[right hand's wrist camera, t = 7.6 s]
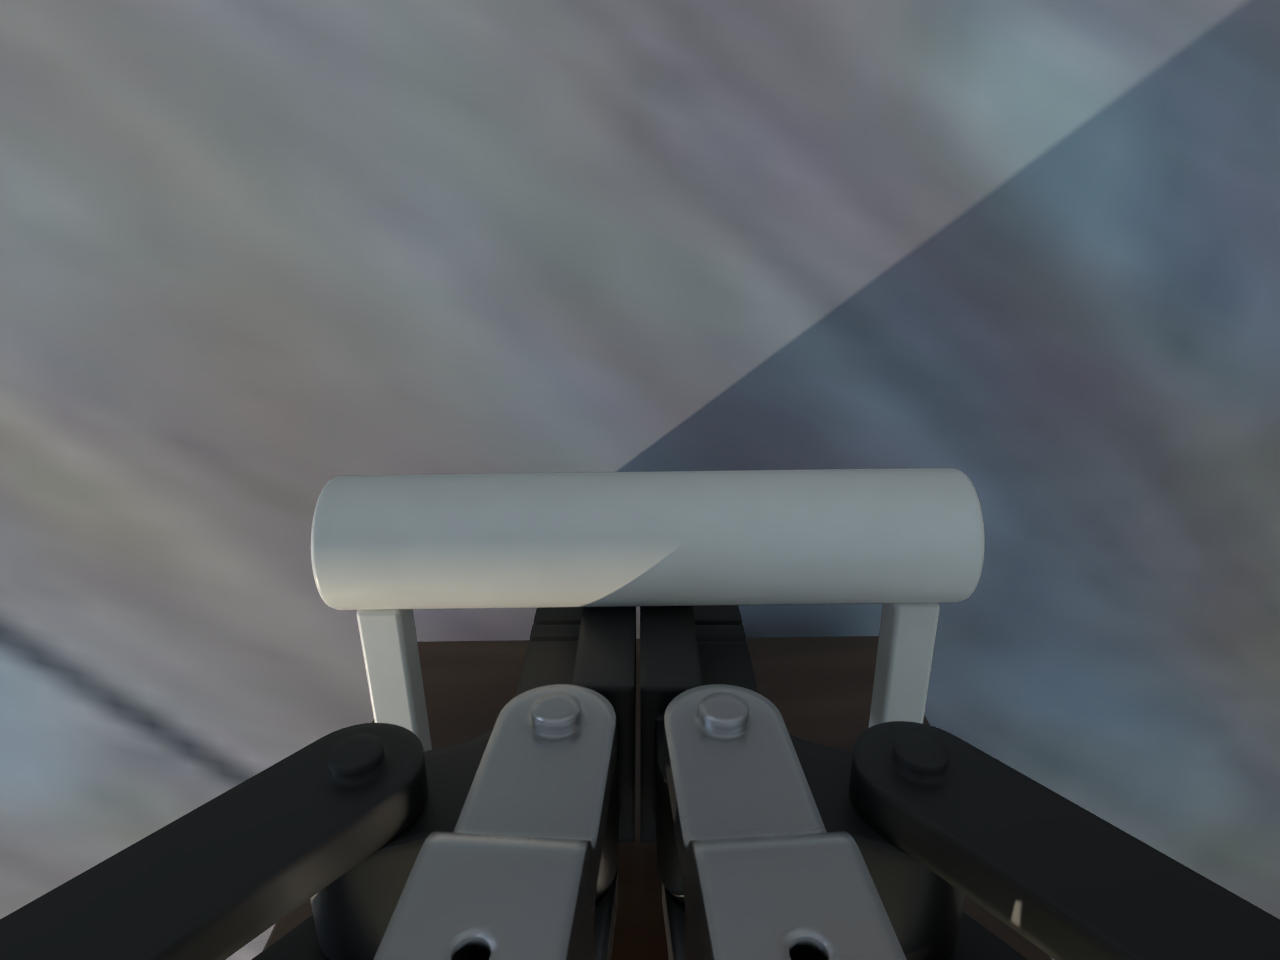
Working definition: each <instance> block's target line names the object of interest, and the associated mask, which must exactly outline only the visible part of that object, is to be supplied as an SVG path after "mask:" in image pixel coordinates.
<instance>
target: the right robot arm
mask: <svg viewBox="0 0 1280 960" xmlns="http://www.w3.org/2000/svg"><path fill="white" fill-rule="evenodd" d="M635 744H636V606H617V607H537V610H536V614H535V619H534V625H533V627H532V631H531V635H530V641H529V643H528V647H527V651H526V655H525V660H524V664H523V668H522V672H521V676H520V680H519V684H518V688H517V692H516V696H515V698H513V699H512V700H511V701H510V702H508V703H507V704H506V705H505V706H504V708H503V709H502V710H501V712H500V714H499V716H498V718H497V720H496V723H495V726H494V728H493V729H491V730H490V731H488V732H487V733H485V734H483V735H481V736H479V737H477V738H474V739H472V740H469V741H466V742H463V743H459V744H456V745H452V746H447V747H443V748H438V749H434V750H429V751H425V752H424V749H423V746H422V743H421V741H420V739H419V738H418V737H417V736H416V735H415V734H414V733H413V732H412V731H410V730H408V729H406V728H404V727H401V726H398V725H395V724H388V723H365V724H359V725H354V726H350V727H346V728H343V729H340V730H338V731H335V732H332V733H330V734H328V735H326V736H324V737H322V738H320V739H319V740H317V741H315V742H313V743H312V744H310V745H308V746H306V747H305V748H303V749H301V750H299V751H297V752H296V753H294V754H292V755H290V756H289V757H287V758H285V759H283V760H282V761H280V762H278V763H276V764H274V765H273V766H271V767H269V768H267V769H266V770H264V771H262V772H260V773H259V774H257V775H255V776H253V777H251V778H250V779H248V780H246V781H244V782H243V783H241V784H239V785H237V786H236V787H234V788H232V789H230V790H229V791H227V792H225V793H223V794H221V795H220V796H218V797H216V798H214V799H213V800H211V801H209V802H207V803H206V804H204V805H202V806H200V807H198V808H197V809H195V810H193V811H191V812H190V813H188V814H186V815H184V816H183V817H181V818H179V819H177V820H175V821H174V822H172V823H170V824H168V825H167V826H165V827H163V828H161V829H160V830H158V831H156V832H154V833H152V834H151V835H149V836H147V837H145V838H144V839H142V840H140V841H138V842H137V843H135V844H133V845H131V846H130V847H128V848H126V849H124V850H122V851H121V852H119V853H117V854H115V855H114V856H112V857H110V858H108V859H107V860H105V861H103V862H101V863H99V864H98V865H96V866H94V867H92V868H91V869H89V870H87V871H85V872H84V873H82V874H80V875H78V876H76V877H75V878H73V879H71V880H69V881H68V882H66V883H64V884H62V885H61V886H59V887H57V888H55V889H53V890H52V891H50V892H48V893H46V894H45V895H43V896H41V897H39V898H38V899H36V900H34V901H32V902H31V903H29V904H27V905H25V906H23V907H22V908H20V909H18V910H16V911H15V912H13V913H11V914H9V915H8V916H6V917H4V918H2V919H0V960H225V959H227V958H228V957H229V956H231V955H232V954H234V953H235V952H236V951H238V950H239V949H240V948H242V947H243V946H245V945H246V944H247V943H249V942H250V941H252V940H253V939H254V938H256V937H257V936H258V935H260V934H261V933H263V932H264V931H265V930H267V929H268V928H270V927H271V926H272V925H274V924H275V923H276V922H278V921H279V920H281V919H282V918H283V917H285V916H286V915H288V914H289V913H290V912H292V911H293V910H294V909H296V908H297V907H299V906H300V905H301V904H303V903H304V902H306V901H307V900H308V899H310V901H311V906H312V911H313V915H311V916H310V917H309V918H307V919H306V920H305V921H303V922H302V923H301V924H299V925H298V926H297V927H295V928H294V929H292V930H291V931H290V932H288V933H287V934H286V935H284V936H283V937H282V938H280V939H279V940H278V941H276V942H275V943H274V944H272V945H271V946H269V947H268V948H267V949H265V950H264V951H263V952H261V953H260V954H259V955H257V956H256V957H255V958H253V959H252V960H611V955H612V947H613V939H614V930H615V922H616V913H617V905H618V842H635ZM640 842H656V848H657V869H658V873H659V876H660V879H661V881H662V904H663V913H664V921H665V930H666V938H667V946H668V955H669V960H1028V959H1027V958H1025V957H1024V956H1023V955H1021V954H1020V953H1019V952H1017V951H1016V950H1015V949H1013V948H1012V947H1010V946H1009V945H1008V944H1006V943H1005V942H1004V941H1002V940H1001V939H1000V938H998V937H997V936H996V935H994V934H993V933H992V932H990V931H989V930H988V929H986V928H985V927H983V926H982V925H981V924H979V923H978V922H977V921H975V920H974V919H973V918H971V917H970V916H969V915H967V914H966V913H965V912H963V911H962V907H963V901H964V896H965V895H966V896H967V897H969V898H970V899H972V900H973V901H974V902H976V903H977V904H979V905H980V906H981V907H983V908H984V909H985V910H987V911H988V912H990V913H991V914H992V915H994V916H995V917H997V918H998V919H999V920H1001V921H1002V922H1004V923H1005V924H1006V925H1008V926H1009V927H1010V928H1012V929H1013V930H1015V931H1016V932H1017V933H1019V934H1020V935H1022V936H1023V937H1024V938H1026V939H1027V940H1028V941H1030V942H1031V943H1033V944H1034V945H1035V946H1037V947H1038V948H1040V949H1041V950H1042V951H1044V952H1045V953H1046V954H1048V955H1049V956H1050V957H1052V958H1053V959H1054V960H1280V919H1278V918H1276V917H1274V916H1272V915H1271V914H1269V913H1267V912H1265V911H1264V910H1262V909H1260V908H1258V907H1257V906H1255V905H1253V904H1251V903H1249V902H1248V901H1246V900H1244V899H1242V898H1241V897H1239V896H1237V895H1235V894H1234V893H1232V892H1230V891H1228V890H1226V889H1225V888H1223V887H1221V886H1219V885H1218V884H1216V883H1214V882H1212V881H1211V880H1209V879H1207V878H1205V877H1203V876H1202V875H1200V874H1198V873H1196V872H1195V871H1193V870H1191V869H1189V868H1188V867H1186V866H1184V865H1182V864H1181V863H1179V862H1177V861H1175V860H1173V859H1172V858H1170V857H1168V856H1166V855H1165V854H1163V853H1161V852H1159V851H1158V850H1156V849H1154V848H1152V847H1150V846H1149V845H1147V844H1145V843H1143V842H1142V841H1140V840H1138V839H1136V838H1135V837H1133V836H1131V835H1129V834H1127V833H1126V832H1124V831H1122V830H1120V829H1119V828H1117V827H1115V826H1113V825H1112V824H1110V823H1108V822H1106V821H1105V820H1103V819H1101V818H1099V817H1097V816H1096V815H1094V814H1092V813H1090V812H1089V811H1087V810H1085V809H1083V808H1082V807H1080V806H1078V805H1076V804H1074V803H1073V802H1071V801H1069V800H1067V799H1066V798H1064V797H1062V796H1060V795H1059V794H1057V793H1055V792H1053V791H1051V790H1050V789H1048V788H1046V787H1044V786H1043V785H1041V784H1039V783H1037V782H1036V781H1034V780H1032V779H1030V778H1028V777H1027V776H1025V775H1023V774H1021V773H1020V772H1018V771H1016V770H1014V769H1013V768H1011V767H1009V766H1007V765H1006V764H1004V763H1002V762H1000V761H998V760H997V759H995V758H993V757H991V756H990V755H988V754H986V753H984V752H983V751H981V750H979V749H977V748H975V747H974V746H972V745H970V744H968V743H967V742H965V741H963V740H961V739H960V738H958V737H956V736H954V735H952V734H950V733H948V732H946V731H944V730H941V729H939V728H936V727H933V726H929V725H926V724H922V723H916V722H907V721H891V722H885V723H880V724H877V725H874V726H872V727H870V728H868V729H866V730H865V731H864V732H862V733H861V734H860V735H859V737H858V738H857V739H856V742H855V744H854V749H853V752H848V751H844V750H839V749H835V748H830V747H826V746H822V745H818V744H814V743H810V742H807V741H805V740H802V739H800V738H797V737H795V736H793V735H791V734H789V733H788V730H787V728H786V725H785V723H784V720H783V718H782V715H781V713H780V712H779V710H778V709H777V707H776V706H775V705H774V704H773V703H772V702H771V701H769V700H768V699H767V698H765V697H764V696H762V695H760V694H759V692H758V688H757V684H756V680H755V675H754V671H753V667H752V662H751V658H750V654H749V650H748V645H747V641H746V637H745V633H744V628H743V625H742V620H741V615H740V611H739V607H738V605H699V606H640Z"/></svg>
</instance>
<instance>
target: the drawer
mask: <svg viewBox="0 0 1280 960" xmlns="http://www.w3.org/2000/svg"><path fill="white" fill-rule="evenodd" d="M984 549H985V535H984V522H983V515H982V510H981V505H980V501H979V498H978V495H977V492H976V490H975V488H974V486H973V484H972V482H971V480H970V479H969V477H968V476H967V475H966V474H965V473H964V472H962V471H960V470H958V469H955V468H893V469H815V470H738V471H660V472H582V473H505V474H427V475H349V476H338V477H335V478H333V479H331V480H330V481H329V482H328V483H327V484H326V485H325V486H324V488H323V490H322V491H321V494H320V496H319V498H318V501H317V504H316V508H315V512H314V517H313V523H312V532H311V560H312V568H313V574H314V579H315V583H316V586H317V589H318V591H319V594H320V596H321V598H322V599H323V601H324V602H325V603H326V604H327V605H328V606H330V607H332V608H334V609H337V610H358V611H357V620H358V626H359V632H360V638H361V644H362V650H363V656H364V662H365V668H366V674H367V680H368V686H369V692H370V698H371V704H372V709H373V715H374V720H373V722H372V723H388V724H395V725H398V726H401V727H404V728H406V729H408V730H410V731H412V732H413V733H414V734H415V735H416V736H417V737H418V738H419V739H420V741H421V743H422V746H423V749H424V752H425V751H429V750H434V749H438V748H443V747H447V746H452V745H456V744H459V743H463V742H466V741H469V740H472V739H474V738H477V737H479V736H481V735H483V734H485V733H487V732H488V731H490V730H491V729H493V728H494V726H495V723H496V720H497V718H498V716H499V714H500V712H501V710H502V709H503V708H504V706H505V705H506V704H507V703H508V702H510V701H511V700H512V699H513V698H515V696H516V692H517V688H518V684H519V680H520V676H521V672H522V668H523V664H524V660H525V655H526V651H527V647H528V643H529V641H530V640H522V641H440V642H417V637H416V629H415V622H414V615H413V609H454V608H536V607H617V606H699V605H780V604H862V603H883V607H882V616H881V624H880V633H879V636H852V637H770V638H746V641H747V645H748V650H749V654H750V658H751V662H752V667H753V671H754V675H755V680H756V684H757V688H758V692H759V694H760V695H762V696H764V697H765V698H767V699H768V700H769V701H771V702H772V703H773V704H774V705H775V706H776V707H777V709H778V710H779V712H780V713H781V715H782V718H783V720H784V723H785V725H786V728H787V730H788V733H789V734H791V735H793V736H795V737H797V738H800V739H802V740H805V741H807V742H810V743H814V744H818V745H822V746H826V747H830V748H835V749H839V750H844V751H848V752H853V749H854V744H855V742H856V739H857V738H858V737H859V735H860V734H861V733H862V732H864V731H865V730H866V729H868V728H870V727H872V726H874V725H877V724H880V723H885V722H891V721H907V722H916V723H922V724H926V725H929V723H928V721H927V719H926V717H925V715H924V712H925V706H926V699H927V692H928V685H929V678H930V671H931V664H932V658H933V651H934V644H935V637H936V630H937V623H938V617H939V610H940V606H939V603H943V602H961V601H963V600H965V599H967V598H969V597H970V596H971V595H972V593H973V592H974V590H975V589H976V587H977V584H978V582H979V579H980V576H981V572H982V567H983V560H984ZM929 726H930V725H929ZM962 911H963V912H965V913H966V914H967V915H969V916H970V917H971V918H973V919H974V920H975V921H977V922H978V923H979V924H981V925H982V926H983V927H985V928H986V929H988V930H989V931H990V932H992V933H993V934H994V935H996V936H997V937H998V938H1000V939H1001V940H1002V941H1004V942H1005V943H1006V944H1008V945H1009V946H1010V947H1012V948H1013V949H1015V950H1016V951H1017V952H1019V953H1020V954H1021V955H1023V956H1024V957H1025V958H1027V959H1028V960H1052V959H1051V957H1050V956H1049V955H1048V954H1046V953H1045V952H1044V951H1042V950H1041V949H1040V948H1038V947H1037V946H1035V945H1034V944H1033V943H1031V942H1030V941H1028V940H1027V939H1026V938H1024V937H1023V936H1022V935H1020V934H1019V933H1017V932H1016V931H1015V930H1013V929H1012V928H1010V927H1009V926H1008V925H1006V924H1005V923H1004V922H1002V921H1001V920H999V919H998V918H997V917H995V916H994V915H992V914H991V913H990V912H988V911H987V910H985V909H984V908H983V907H981V906H980V905H979V904H977V903H976V902H974V901H973V900H972V899H970V898H969V897H967V896H966V895H965V896H964V901H963V907H962ZM311 915H313V911H312V906H311V901H310V899H308V900H307V901H306V902H304V903H303V904H301V905H300V906H299V907H297V908H296V909H294V910H293V911H292V912H290V913H289V914H288V915H286V916H285V917H283V918H282V919H281V920H279V921H278V922H276V924H275V926H274V928H273V930H272V932H271V935H270V937H269V939H268V941H267V943H266V945H265V947H264V949H263V951H264V950H265V949H267V948H268V947H269V946H271V945H272V944H274V943H275V942H276V941H278V940H279V939H280V938H282V937H283V936H284V935H286V934H287V933H288V932H290V931H291V930H292V929H294V928H295V927H297V926H298V925H299V924H301V923H302V922H303V921H305V920H306V919H307V918H309V917H310V916H311ZM263 951H262V952H263ZM611 960H669V955H668V946H667V938H666V930H665V921H664V913H663V904H662V881H661V879H660V876H659V873H658V869H657V848H656V842H640V639H636V744H635V842H618V905H617V913H616V922H615V930H614V939H613V947H612V955H611Z"/></svg>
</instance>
